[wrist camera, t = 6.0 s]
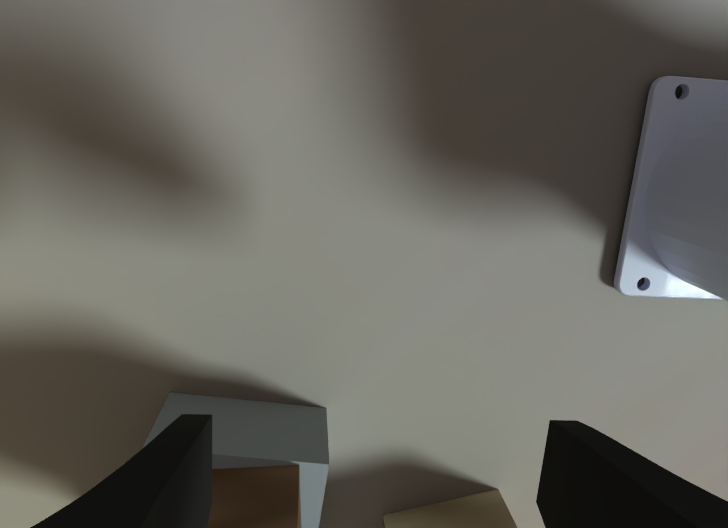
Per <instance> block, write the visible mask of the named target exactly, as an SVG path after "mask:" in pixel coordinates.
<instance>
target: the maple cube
mask: <svg viewBox="0 0 728 528" xmlns="http://www.w3.org/2000/svg"><path fill="white" fill-rule="evenodd" d="M383 519H384V525H385V528H517V526H516V524H515V522H514V520H513V518H512V516H511V514H510V512H509V510H508V508H507V506H506V504H505V502H504V500H503V498H502V496H501V494H500V492H499V490H498V489H496V490H491V491H487V492H482V493H478V494H474V495H469V496H465V497H460V498H456V499H452V500H447V501H443V502H438V503H434V504H430V505H425V506H421V507H416V508H412V509H408V510H403V511H399V512H394V513H390V514H385V515H383Z"/></svg>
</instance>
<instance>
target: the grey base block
mask: <svg viewBox="0 0 728 528" xmlns="http://www.w3.org/2000/svg"><path fill="white" fill-rule="evenodd" d="M181 414H210V415H212V469H227V468H246V467H266V466H285V465H299V466H300V498H301V528H319V523H320V517H321V511H322V505H323V499H324V493H325V487H326V481H327V475H328V469H329V451H328V432H327V412H326V408H321V407H311V406H302V405H292V404H282V403H272V402H263V401H253V400H243V399H233V398H223V397H214V396H204V395H194V394H184V393H174V392H170V393H169V395H168V397H167V399H166V401H165V403H164V405H163V407H162V409H161V411H160V413H159V415H158V417H157V419H156V421H155V423H154V425H153V427H152V429H151V431H150V433H149V435H148V437H147V439H146V441H145V443H144V445H143V447H142V449H143V448H144V447H145V446H146V445H147V444H148V443H150V442H151V441H152V440H153V439H154V438H155V437H156V436H157V435H159V434H160V433H161V432H162V431H163V430H164V429H165V428H166V427H168V426H169V425H170V424H171V423H172V422H173V421H174V420H176V419H177V418H178V417H179V416H180V415H181Z"/></svg>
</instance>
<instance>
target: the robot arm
mask: <svg viewBox="0 0 728 528" xmlns="http://www.w3.org/2000/svg"><path fill="white" fill-rule="evenodd" d="M679 85H680V86H681V88H682V94H681V97H679V98H678V99H677V98H676V96H675V90H676V88H677V87H678V86H679ZM641 278H644V283H643V285H642V286H641V287H638V288H637V283H638V280H640V279H641ZM614 286H615V288H616V290H617V291H619V292H620V293H622V294H623V295H627V296H646V297H671V298H695V299H719V300H727V301H728V80H716V79H704V78H692V77H680V76H664V77H659V78H658V79H656V80H655V81H654V82H653V83H652V84H651V87H650V90H649V95H648V100H647V105H646V111H645V116H644V122H643V127H642V132H641V138H640V143H639V148H638V154H637V159H636V164H635V170H634V175H633V181H632V186H631V191H630V197H629V202H628V207H627V213H626V218H625V224H624V229H623V234H622V240H621V245H620V250H619V256H618V261H617V267H616V272H615V277H614ZM536 502H537V505H538V508H539V511H540V513H541V516H542V519H543V522H544V524H545V527H546V528H728V501H725V500H723V499H721V498H719V497H717V496H715V495H713V494H711V493H709V492H707V491H705V490H704V489H702V488H700V487H698V486H696V485H694V484H692V483H690V482H688V481H686V480H684V479H682V478H681V477H679V476H677V475H675V474H673V473H671V472H670V471H668V470H666V469H664V468H662V467H661V466H659V465H657V464H655V463H654V462H652V461H650V460H648V459H647V458H645V457H643V456H641V455H640V454H638V453H636V452H634V451H633V450H631V449H629V448H627V447H626V446H624V445H622V444H620V443H619V442H617V441H615V440H614V439H612V438H610V437H608V436H606V435H605V434H603V433H601V432H599V431H597V430H595V429H593V428H592V427H590V426H588V425H585V424H583V423H581V422H579V421H562V420H550V423H549V429H548V435H547V441H546V447H545V453H544V459H543V464H542V470H541V476H540V482H539V488H538V494H537V500H536ZM211 504H212V415H210V414H181V415H180V416H179V417H178V418H177V419H176V420H174V421H173V422H172V423H171V424H170V425H169V426H168V427H166V428H165V429H164V430H163V431H162V432H161V433H160V434H159V435H157V436H156V437H155V438H154V439H153V440H152V441H151V442H150V443H148V444H147V445H146V446H145V447H144V448H143V449H142V450H140V451H139V452H138V453H137V454H136V455H134V456H133V457H132V458H131V459H130V460H129V461H127V462H126V463H125V464H124V465H123V466H121V467H120V468H119V469H117V470H116V471H115V472H113V473H112V474H111V475H109V476H108V477H107V478H105V479H104V480H103V481H101V482H100V483H99V484H98V485H96V486H95V487H94V488H92V489H91V490H90V491H88V492H87V493H85V494H84V495H82V496H81V497H79V498H78V499H76V500H75V501H73V502H72V503H70V504H69V505H67V506H66V507H64V508H62V509H61V510H59V511H58V512H56V513H54V514H53V515H51V516H50V517H48V518H46V519H45V520H43V521H41V522H40V523H38V524H36V525H34V526H33V527H31V528H207V526H208V521H209V515H210V510H211Z"/></svg>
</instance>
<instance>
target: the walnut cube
mask: <svg viewBox="0 0 728 528" xmlns="http://www.w3.org/2000/svg"><path fill="white" fill-rule="evenodd" d="M207 528H301V498H300V466H299V465H285V466H266V467H246V468H227V469H212V504H211V510H210V515H209V521H208V526H207Z"/></svg>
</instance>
